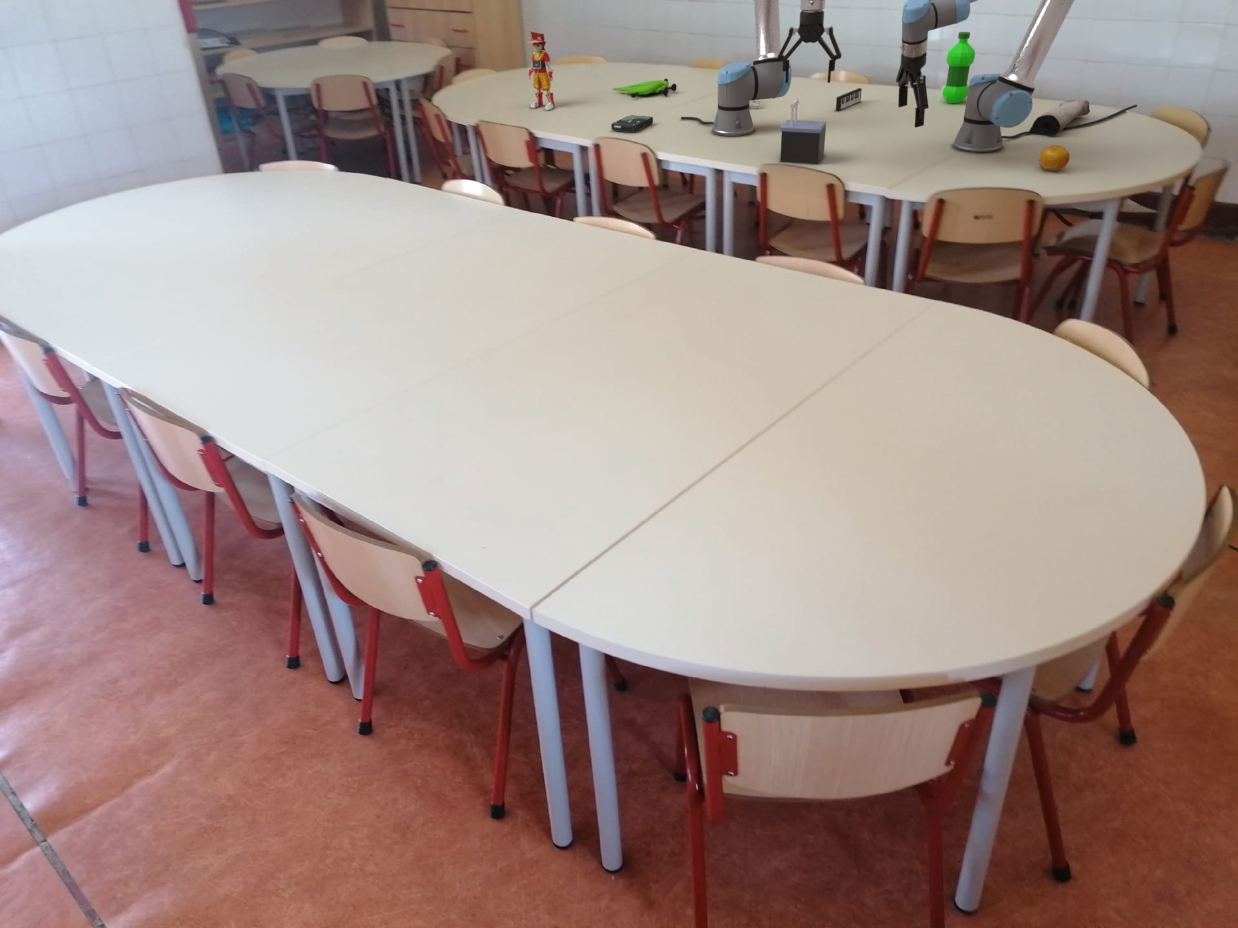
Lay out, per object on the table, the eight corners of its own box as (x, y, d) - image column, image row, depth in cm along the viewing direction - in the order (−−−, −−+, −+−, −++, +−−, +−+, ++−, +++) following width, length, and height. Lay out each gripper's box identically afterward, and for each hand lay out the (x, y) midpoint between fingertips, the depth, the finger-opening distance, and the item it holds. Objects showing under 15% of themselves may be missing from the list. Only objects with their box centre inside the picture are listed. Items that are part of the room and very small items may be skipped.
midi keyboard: (838, 111, 353) (839, 97, 350) (835, 110, 353) (836, 97, 350) (860, 101, 363) (861, 88, 360) (857, 101, 364) (859, 88, 361)
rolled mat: (1057, 104, 331) (1081, 87, 323) (1070, 125, 332) (1095, 108, 324) (1024, 126, 314) (1049, 109, 306) (1039, 148, 314) (1064, 131, 306)
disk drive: (634, 134, 341) (653, 123, 351) (633, 126, 339) (653, 116, 349) (611, 131, 346) (631, 121, 356) (610, 123, 344) (630, 114, 354)
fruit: (1034, 160, 277) (1052, 137, 274) (1032, 163, 285) (1050, 140, 282) (1057, 176, 276) (1076, 152, 273) (1055, 178, 284) (1073, 155, 281)
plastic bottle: (973, 101, 354) (984, 32, 339) (955, 106, 349) (966, 36, 335) (952, 97, 361) (962, 29, 346) (934, 102, 356) (944, 33, 342)
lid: (780, 131, 297) (781, 105, 292) (787, 123, 305) (788, 97, 300) (819, 133, 293) (821, 106, 288) (826, 125, 300) (828, 99, 295)
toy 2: (686, 85, 398) (631, 84, 414) (685, 72, 395) (629, 72, 411) (651, 104, 381) (596, 103, 397) (650, 92, 378) (594, 91, 394)
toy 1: (525, 109, 381) (517, 32, 364) (534, 104, 388) (527, 28, 371) (550, 110, 377) (543, 32, 360) (559, 105, 384) (553, 28, 367)
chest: (780, 162, 303) (781, 131, 297) (787, 153, 310) (788, 123, 304) (817, 164, 298) (819, 133, 293) (823, 155, 306) (826, 125, 300)
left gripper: (771, 13, 282) (768, 84, 294) (852, 11, 276) (846, 84, 289) (773, 9, 288) (770, 79, 300) (853, 7, 282) (847, 79, 294)
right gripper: (886, 39, 283) (885, 101, 299) (918, 74, 267) (914, 138, 283) (909, 32, 283) (907, 94, 299) (942, 67, 267) (937, 131, 283)
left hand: (807, 82), depth 294 cm, fingers open, 13 cm apart
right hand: (910, 116), depth 291 cm, fingers open, 13 cm apart
